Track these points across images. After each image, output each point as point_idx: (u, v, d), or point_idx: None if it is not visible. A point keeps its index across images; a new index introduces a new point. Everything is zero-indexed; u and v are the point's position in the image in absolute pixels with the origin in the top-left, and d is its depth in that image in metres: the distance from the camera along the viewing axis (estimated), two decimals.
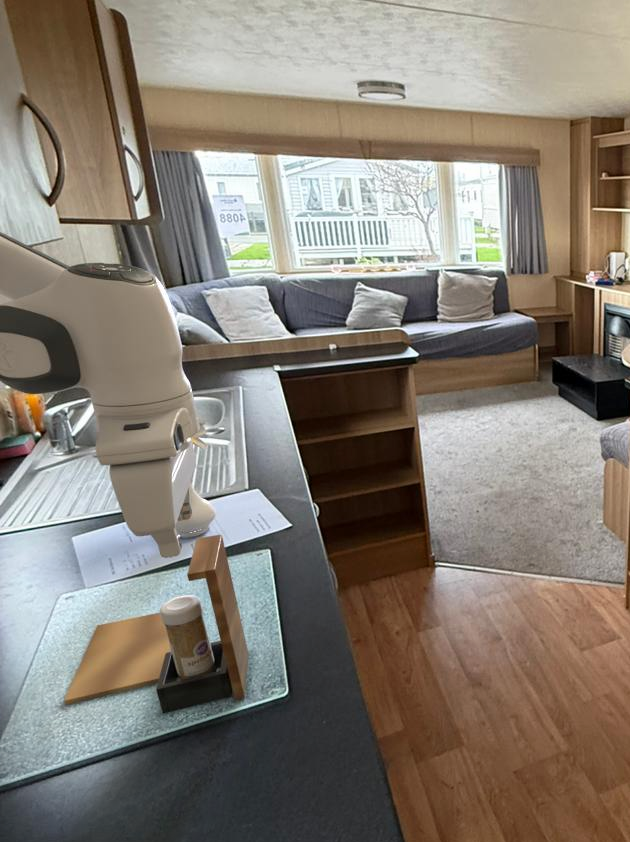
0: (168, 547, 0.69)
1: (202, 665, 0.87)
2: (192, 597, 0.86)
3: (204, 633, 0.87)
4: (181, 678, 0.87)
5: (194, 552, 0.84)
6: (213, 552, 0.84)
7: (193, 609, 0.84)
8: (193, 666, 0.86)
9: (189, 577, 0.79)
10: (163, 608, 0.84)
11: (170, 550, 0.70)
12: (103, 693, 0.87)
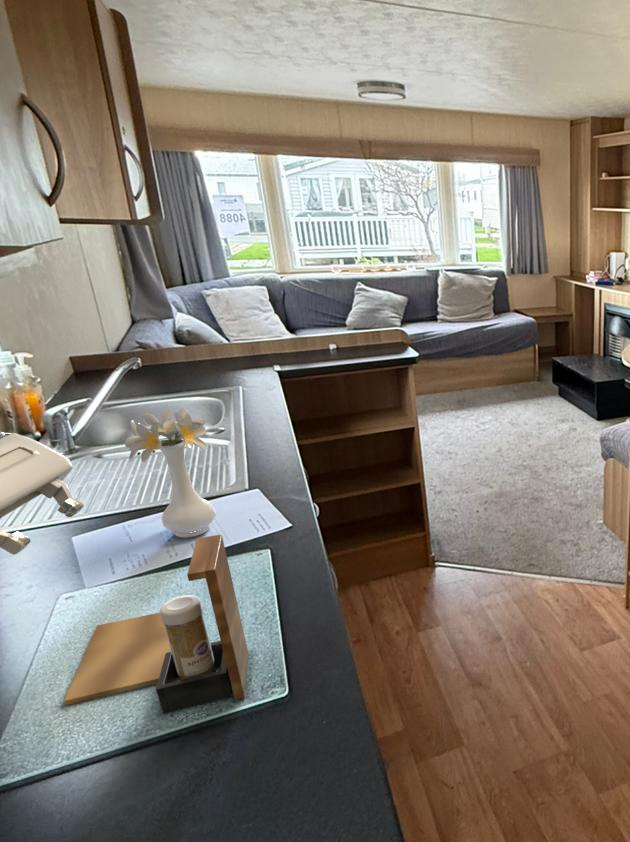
0: (8, 545, 0.74)
1: (202, 665, 0.87)
2: (192, 597, 0.86)
3: (204, 633, 0.87)
4: (181, 678, 0.87)
5: (194, 552, 0.84)
6: (213, 552, 0.84)
7: (193, 609, 0.84)
8: (193, 666, 0.86)
9: (189, 577, 0.79)
10: (163, 608, 0.84)
11: (12, 546, 0.74)
12: (103, 693, 0.87)
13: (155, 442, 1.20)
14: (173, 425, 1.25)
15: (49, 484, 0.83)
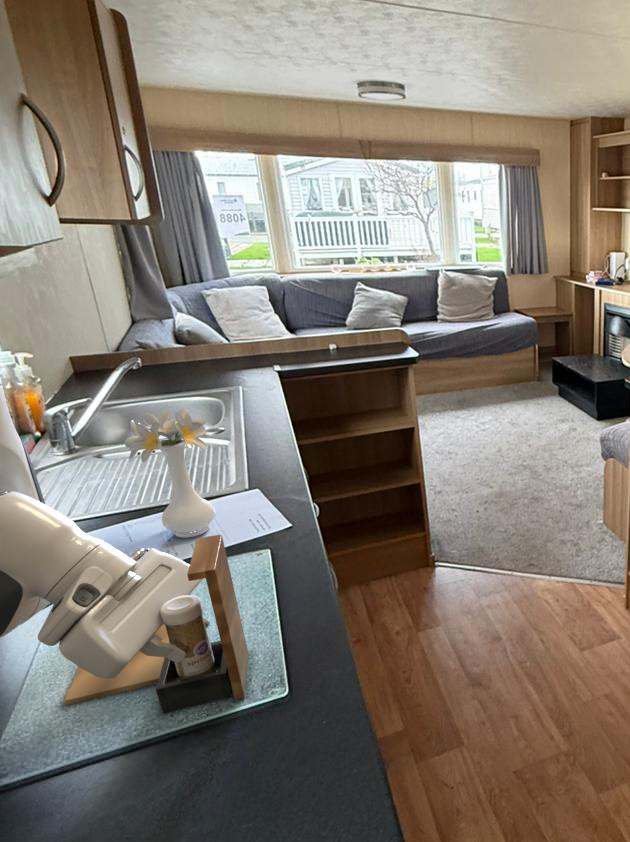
0: (173, 655, 0.83)
1: (202, 665, 0.87)
2: (192, 597, 0.86)
3: (204, 633, 0.87)
4: (181, 678, 0.87)
5: (194, 552, 0.84)
6: (213, 552, 0.84)
7: (193, 609, 0.84)
8: (193, 666, 0.86)
9: (189, 577, 0.79)
10: (163, 608, 0.84)
11: (176, 656, 0.83)
12: (103, 693, 0.87)
13: (155, 442, 1.20)
14: (173, 425, 1.25)
15: None
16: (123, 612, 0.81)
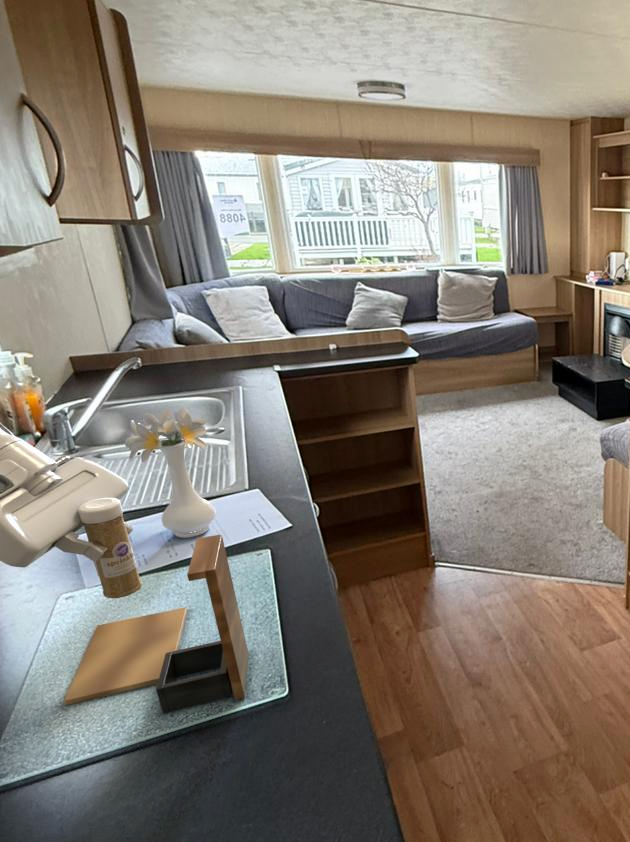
0: (90, 553, 0.84)
1: (122, 566, 0.88)
2: (112, 499, 0.87)
3: (124, 535, 0.88)
4: (101, 580, 0.88)
5: (194, 552, 0.84)
6: (213, 552, 0.84)
7: (112, 508, 0.85)
8: (112, 567, 0.87)
9: (189, 577, 0.79)
10: (82, 507, 0.85)
11: (93, 554, 0.84)
12: (103, 693, 0.87)
13: (155, 442, 1.20)
14: (173, 425, 1.25)
15: None
16: (39, 507, 0.82)
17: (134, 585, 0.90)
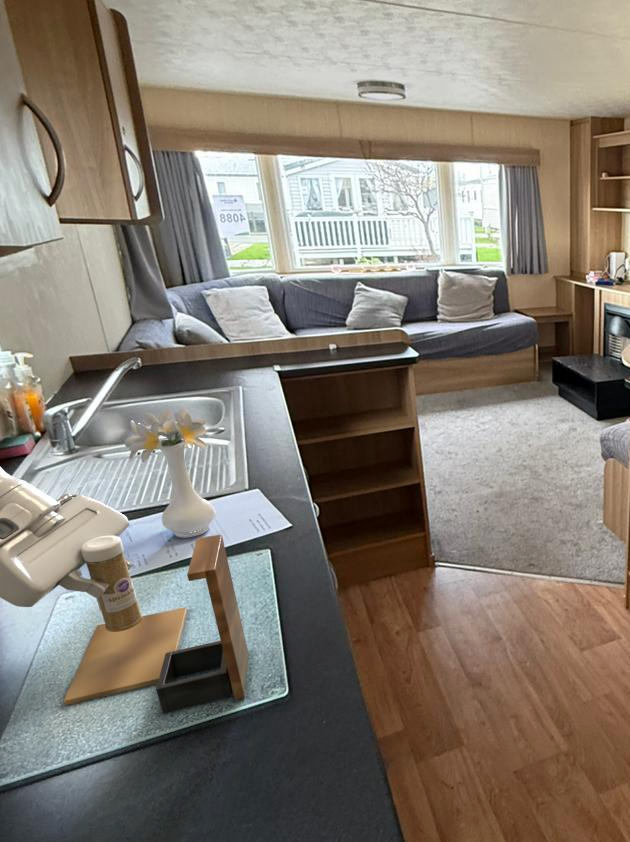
0: (92, 590, 0.88)
1: (123, 601, 0.91)
2: (113, 537, 0.91)
3: (125, 571, 0.91)
4: (103, 614, 0.91)
5: (194, 552, 0.84)
6: (213, 552, 0.84)
7: (113, 547, 0.89)
8: (114, 603, 0.91)
9: (189, 577, 0.79)
10: (84, 546, 0.88)
11: (95, 591, 0.88)
12: (103, 693, 0.87)
13: (155, 442, 1.20)
14: (173, 425, 1.25)
15: None
16: (43, 548, 0.85)
17: (135, 618, 0.93)
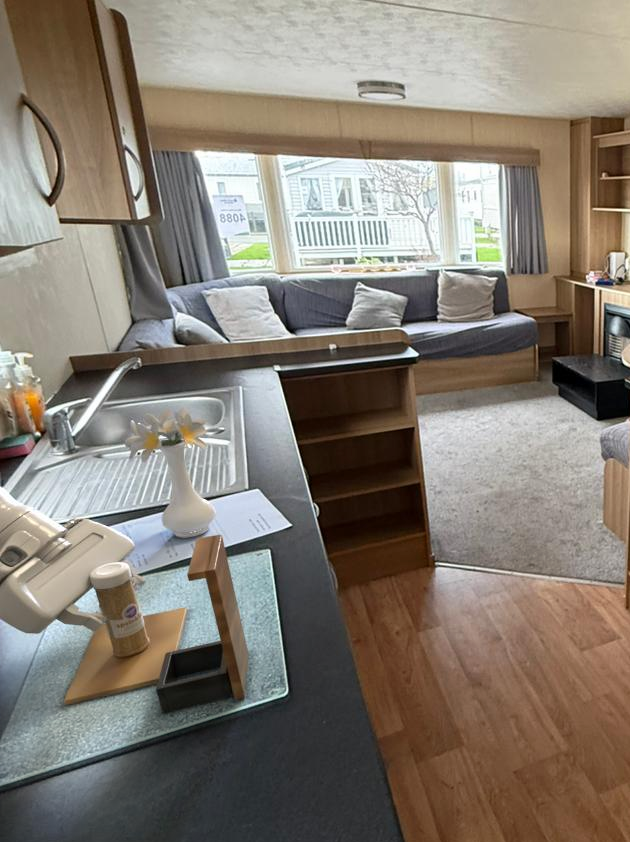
0: (90, 623, 0.87)
1: (130, 627, 0.93)
2: (121, 564, 0.92)
3: (133, 598, 0.93)
4: (111, 640, 0.93)
5: (194, 552, 0.84)
6: (213, 552, 0.84)
7: (121, 574, 0.90)
8: (122, 628, 0.92)
9: (189, 577, 0.79)
10: (93, 573, 0.90)
11: (93, 625, 0.88)
12: (103, 693, 0.87)
13: (155, 442, 1.20)
14: (173, 425, 1.25)
15: None
16: (51, 574, 0.87)
17: (142, 643, 0.95)
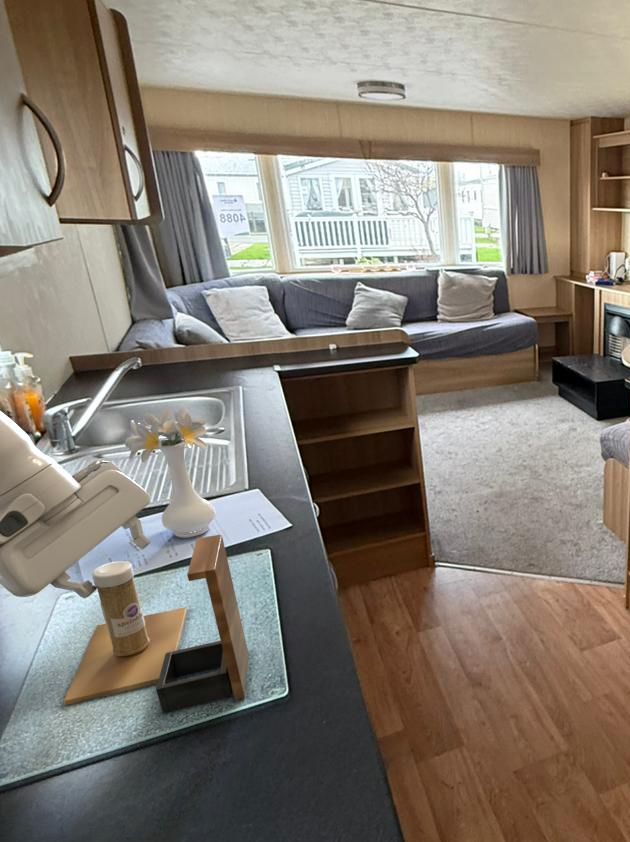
0: (79, 591, 0.89)
1: (131, 626, 0.93)
2: (124, 563, 0.93)
3: (134, 597, 0.93)
4: (112, 639, 0.93)
5: (194, 552, 0.84)
6: (213, 552, 0.84)
7: (124, 573, 0.91)
8: (123, 627, 0.92)
9: (189, 577, 0.79)
10: (95, 571, 0.90)
11: (81, 593, 0.89)
12: (103, 693, 0.87)
13: (155, 442, 1.20)
14: (173, 425, 1.25)
15: (126, 522, 0.96)
16: (51, 538, 0.87)
17: (142, 643, 0.95)
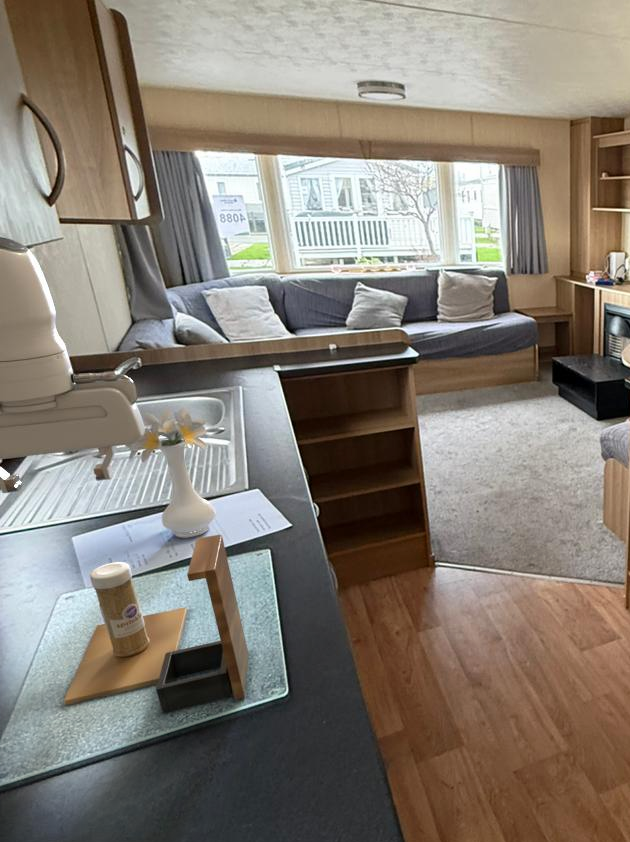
0: None
1: (131, 627, 0.93)
2: (122, 564, 0.92)
3: (133, 598, 0.93)
4: (111, 639, 0.93)
5: (194, 552, 0.84)
6: (213, 552, 0.84)
7: (121, 574, 0.90)
8: (122, 628, 0.92)
9: (189, 577, 0.79)
10: (93, 573, 0.90)
11: None
12: (103, 693, 0.87)
13: (155, 442, 1.20)
14: (173, 425, 1.25)
15: None
16: None
17: (142, 643, 0.95)
